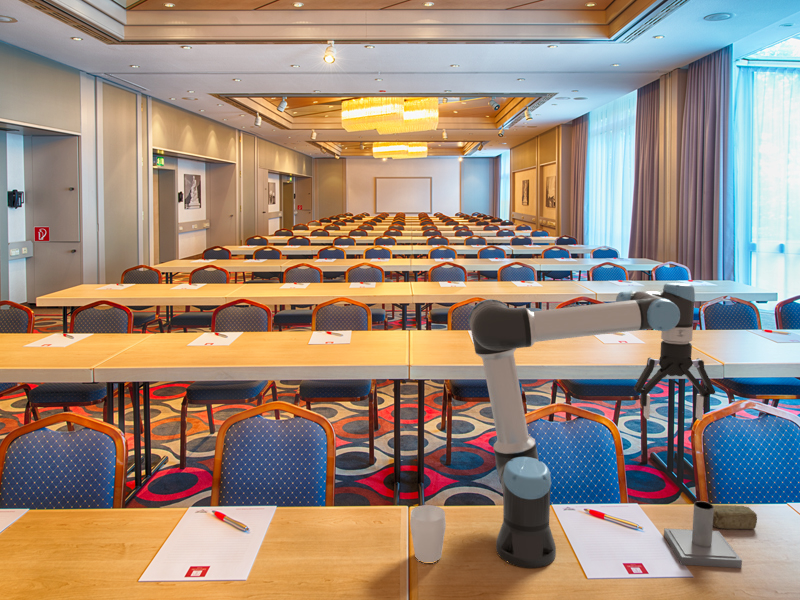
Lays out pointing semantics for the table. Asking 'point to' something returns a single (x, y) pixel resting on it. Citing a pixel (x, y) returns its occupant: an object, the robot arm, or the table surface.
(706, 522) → the grey tube
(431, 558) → the cup
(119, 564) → the table surface
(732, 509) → the stone block
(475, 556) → the table surface
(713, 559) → the kitchen scale
